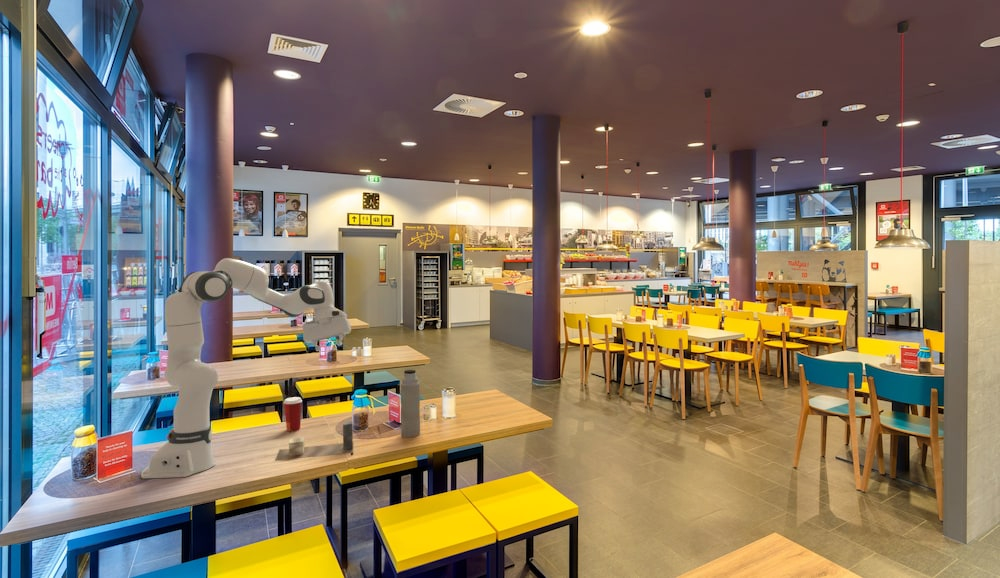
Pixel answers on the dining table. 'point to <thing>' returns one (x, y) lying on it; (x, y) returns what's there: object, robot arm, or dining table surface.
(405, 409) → the thermos bottle
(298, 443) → the gray-green cube
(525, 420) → the dining table surface
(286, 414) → the paper cup
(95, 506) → the dining table surface
